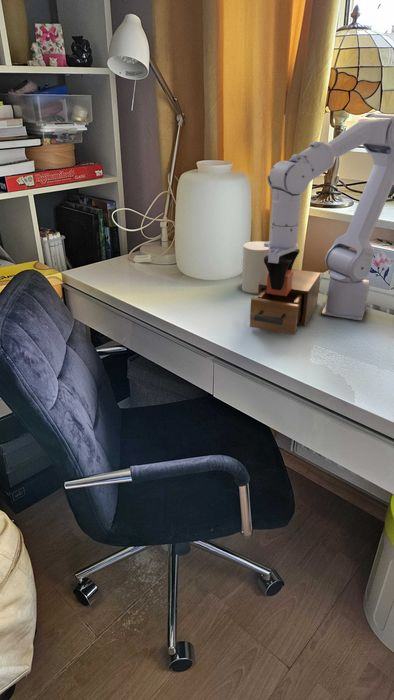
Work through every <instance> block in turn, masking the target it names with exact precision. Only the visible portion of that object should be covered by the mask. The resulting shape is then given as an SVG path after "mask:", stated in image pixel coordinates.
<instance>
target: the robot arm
mask: <svg viewBox="0 0 394 700" xmlns="http://www.w3.org/2000/svg"><path fill="white" fill-rule="evenodd" d="M361 146H363V148H364V150H365V151H366V152H367V154H368V155H369V157H371V159H372V162H373V167H372V169H371V172H370V173H369V176H368V179H367V181H366V184H365V186H364V189H363V191H362V194H361V196H360V198H359V201H358V203H357V205H356V208H355V211H354V213H353V215H352V218H351V220H350V223H349V225H348V228H347V230H346V233H344V234H342V235H340V236H338V237H336V238H335V240H334V241H333V245H332V246H331V247H330V248H329V250H328V251H327V252H326V255H325V257H324V265H325V268H326V269H327V270H328V273H327V274H328V275H329V281H328V287H327V295H326V303H325V305H324V307H323V309H322V311H321V315H323V316H329V317H330V316H331V317H337V318H343V319H349V320H354V321H362V320H363V318H364V316H365V312H366V311H367V308H368V297H369V290H370V285H371V280H369V279H366V278H367V276H368V275H369V273H370V272H371V270H372V266H373V265H372V263H373V258H374V255H375V253H376V252H375V249H374V247H373V246H372V243H371V242H370V240H371V237H372V235H373V233H374V231H375V228H376V226H377V223H378V221H379V219H380V216H381V214H382V211H383V209H384V206H386V205H385V204H386V202H387V200H388V198H389V195H390V193H391V190H392V188H393V186H394V114H386V113H375V112H370V113H367V114H366V115H364V116H362V117H359V118H357V121H356V123H354V124H353V125H351V126H350V127H349V128H347V129H346V130H344V131H343V132H342V133H340V134H339V135H337V136H336V137H335V138H333V139H331V140H330V141H328V142H325V141H315V140H314V141H312V142H310V143H309V147H308V148H306V149H304V150H302V151H301V152H300V153H294V154H292V155H291V157H290V158H289V160H280V161H277V162H275V164H274V165H273V167H272V168H271V170H270V172H269V175H267V183H268V186H269V188H270V190H271V194H270V196H271V197H272V198H271V199H272V200H271V217H270V231H269V232H270V233H269V240H266V241H264V242H265V243H264V246H265V247H268V248H269V255H268V256H266V257H264V263H265V265H266V267H267V269H268V272H269V277H270V283H271V288H272V289H275V290H281V289H282V287H283V283H284V279H285V275H286V271H287V269H288V270H292V269H293V267H294V263H295V261H296V260H297V257H298V255H299V254H300V249H299V248H298V247H299V245H298V234H299V226H300V215H301V203H302V202H301V201H302V194H303V193H305V191H306V190H307V188H308V186H309V184H310V182H312V181H313V180H314V179H316V178H318V177H319V176H321V175H322V174H324V173H325V172H327V171H329V170H331V169H332V168H333V167H334V165H335V161H336V159H338V158H340V157H342V156H343V155H345V154H347V153H349V152H351V151H353V150H355V149H357V148H358V147H361Z"/></svg>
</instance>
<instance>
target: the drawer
mask: <svg viewBox="0 0 394 700" xmlns="http://www.w3.org/2000/svg"><path fill="white" fill-rule="evenodd" d="M266 292H267V289H266V288H265V289H264V290H263V291H262V292H261V293H260V295H259V296H258V295H257V297H252V298H251V299H250V312H249V313H250V314H249V327H250V328H254V329H259V330H266V331H271V332H276V333H282V334H287V335H293V336H295V335H296V333H297V328H298V327H297V326H298V325H297V324H298V322H299V320H300V319H301V317H302V313H303V304H304V295H305V294H300V293H293V292H289V293H288V295H287V296H282V295H275V294H269V293H266Z"/></svg>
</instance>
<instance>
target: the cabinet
mask: <svg viewBox="0 0 394 700" xmlns="http://www.w3.org/2000/svg"><path fill="white" fill-rule="evenodd" d="M292 270H293V279H292V289H291V291H290V292H293V293H300V294H305V295H304V304H303V313H302V317H301V319H300V320H299V322H298V324H297V326H301V327H302V326H303V327H305V326H306V325H307V323H308V321H309V319H310V317H311V316H312V314H313V312H314V311H315V309H316V307H317V305H318V298H319V292H320V291H319V289H320V283H321V272H318V271H310V270H303V269H295V268H292ZM267 277H268V275H267V276H266V277H265V278H264V279H263V280H262V281H261V282H260V283H259V289H258V294H257V297H258V296H259V295H260V293H261V292H262V291H263V290H264V289H265V288H266V289H267Z"/></svg>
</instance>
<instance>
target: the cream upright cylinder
mask: <svg viewBox="0 0 394 700" xmlns="http://www.w3.org/2000/svg"><path fill="white" fill-rule="evenodd" d="M265 242H266V241H260V240H259V241H258V240H257V241H256V240H255V241H248V242H245V243H243V246H242V247H243V248H242V272H241V290H242V291H243V292H245V293H249V294H257V295H258V289H259V283H260V282H261V281H262V280H263V279H264V278H265V277H266V276H267V275H268V273H269V272H268V269H267V267H266V265H265V263H264V257H266V256H268V255H269V248H268V247H265V246H264V243H265Z"/></svg>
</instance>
